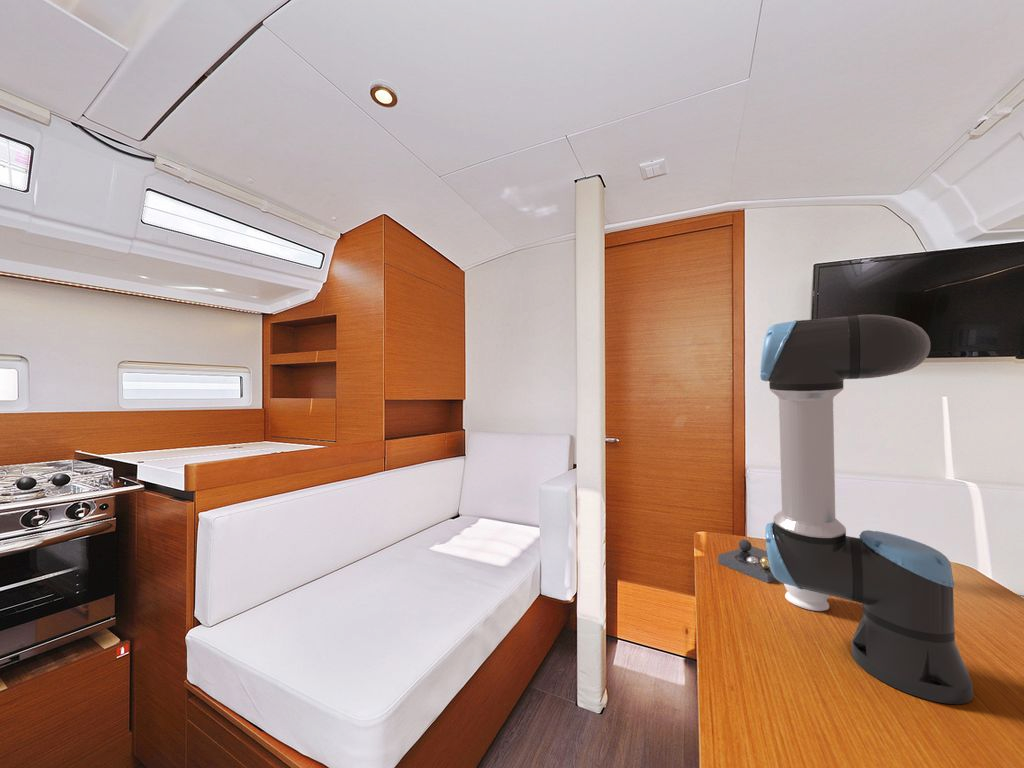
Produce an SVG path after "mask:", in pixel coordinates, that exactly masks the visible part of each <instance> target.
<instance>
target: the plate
mask: <svg viewBox="0 0 1024 768" xmlns="http://www.w3.org/2000/svg"><path fill="white" fill-rule="evenodd" d="M751 546H752V548H751V550H750V551H747V552H746V551H743V550H741V549H740V548H737V549H733V550H729V551H726V552H723V553H720V554H718V558H717V559H718V561H717V562H718V564H719V565H722V566H725V567H727V568H729V569H733V570H734V571H737V572H740V573H742V574H744V575H746V576H749V577H751V578H755V579H756V580H759V581H762V582H764V583H767V584H770V583H772V582H776V581H778V580H777V579H776V578H775V577H774V576H773V574H772V572H771V569H765V568H763V567H762V566H761V565H760V559H761V558H762V557H768V555H767V550H764V549H762V548H759V547H756V546H753V545H751ZM750 556H753V557H755V558H757V559H758V560H759V564H754V563H749V562H747V561H746V559H747V558H748V557H750Z"/></svg>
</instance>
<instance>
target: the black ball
mask: <svg viewBox="0 0 1024 768" xmlns="http://www.w3.org/2000/svg"><path fill="white" fill-rule="evenodd" d="M752 546H753V545H752V543H751V542H750V541H749V540H747V539H740V540H739V542H738V547H739V549H741V550H743V551H746V552H747V551H750V550H751V548H752Z"/></svg>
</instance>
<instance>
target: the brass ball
mask: <svg viewBox="0 0 1024 768" xmlns="http://www.w3.org/2000/svg"><path fill="white" fill-rule="evenodd" d="M760 565H761V566H762V567H763V568H765V569H770V565H769V560H768V557H762V558H761V559H760Z"/></svg>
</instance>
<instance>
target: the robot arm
mask: <svg viewBox="0 0 1024 768" xmlns="http://www.w3.org/2000/svg"><path fill="white" fill-rule="evenodd" d="M764 336H765V337H764V341H763V345H762V350H761V351H762V352H761V358H760V359H761V361H760V376H759V377H760V380H761V381H763V382H765V383H766V382H769V391H770V392H771V393H773V394H774V395H775V396H777V398H778V411H779V414H778V416H779V446H780V447H779V449H780V451H779V452H780V453H779V454H780V458H779V459H780V481H781V482H780V485H781V488H780V489H781V510H780V511H779V512H777V513H776V514H775V515H774V516H773V522H769V523H766V525H765V544H766V545H765V546H766V551H767V555H768V560H769V565H770V569H771V572H772V574H773V576H774V577H775V578H776V579H777V580H776V581H778V582H779V583H781V584H783V585H784V584H787V585H791V586H794V587H797V588H798V589H802V590H803V589H805V590H809V591H813V592H817V593H822V594H826V595H830V596H831V597H834V598H838V599H842V600H847V601H850V602H855V603H860V604H862V616H861V619H860V621H859V623H858V626H857V627H856V630H855V631H854V633H853V637H852V638H851V656H852V657H853V659H854V661H855V662H856V663H857V665H858V666H859V667H861V668H862V669H863V670H865V672H867V673H868V674H869V675H871V676H873V677H874V678H876V679H877V680H879V681H881V682H883V683H884V684H886V685H889V686H890V687H893V688H895V689H896V690H900V691H901V692H903V693H906V694H909V695H913V696H915V697H918V698H920V699H924V700H927V701H932V702H936V703H942V704H948V705H963V704H967V703H970V702H971V701H972V700H973V698H974V691H973V690H974V689H973V688H974V687H973V679H972V678H971V675H970V673H969V671H968V668H967V667H966V664H965V662H964V660H963V657H962V655H961V653H960V651H959V649H958V646H957V643H956V633H955V632H956V631H955V630H956V629H955V603H954V587H956V584H955V583H956V582H954V575H953V569H952V568H953V567H952V564H951V561H950V560H949V558H948V557H947V556H946V555H945V554H943V553H942V552H940V551H939V550H938V549H935V548H933V547H932V546H930V545H927V544H925V543H922V542H919V541H917V540H913V539H912V538H911V539H910V538H908V537H904V536H901V535H898V534H893V533H889V532H884V531H879V530H875V531H874V530H869V529H867V530H863V531H861V532H860V533H859V537H854V536H849V535H847V529H846V527H845V525H844V524H843V523H842V522H841V521H839V520H838V519H837V518H836V489H835V488H836V484H835V483H836V481H835V477H836V476H835V434H834V432H835V430H834V429H835V428H834V427H835V426H834V398H835V397H836V396H838V394H840V393H841V392H842V391H843V390H844V380H857V379H875V378H881V377H887V376H892V375H897V374H901V373H904V372H907V371H910V370H913V369H915V368H916V367H918V366H919V365H921V364H922V363H923V362H924V361H925V360H926V359H927V357H928V356H929V354H930V352H931V340H930V337H929V335H928V334H927V332H926V331H925V330H924V329H923V327H921V326H919V325H918V324H915V323H914V322H912V321H909V320H906V319H903V318H901V317H896V316H891V315H884V314H858V315H857V314H856V315H850V316H837V317H828V318H826V317H825V318H817V319H816V318H815V319H814V318H813V319H802V320H800V319H799V320H793V321H792V320H791V321H787V322H780V323H775V324H772V325H771V326H769V327H768V329H767V330H766V333H765V335H764ZM830 596H829V597H830Z"/></svg>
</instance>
